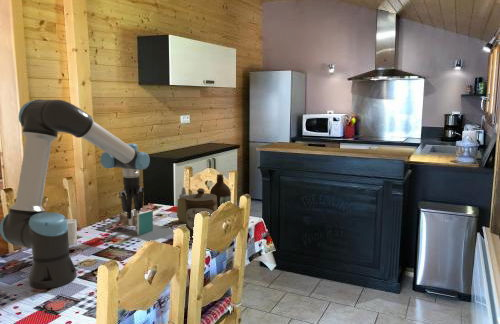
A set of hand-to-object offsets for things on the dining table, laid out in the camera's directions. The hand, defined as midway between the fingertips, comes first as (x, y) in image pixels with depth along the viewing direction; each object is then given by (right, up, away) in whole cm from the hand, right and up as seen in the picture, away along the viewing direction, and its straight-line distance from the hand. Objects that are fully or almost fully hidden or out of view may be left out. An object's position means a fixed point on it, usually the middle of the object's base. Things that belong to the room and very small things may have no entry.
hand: (133, 224), depth 202 cm
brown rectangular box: (-1, 0, +1) cm, 1 cm away
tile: (+6, -3, -4) cm, 8 cm away
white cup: (-25, -6, -15) cm, 30 cm away
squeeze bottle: (+22, -1, +15) cm, 27 cm away
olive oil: (+41, -1, +12) cm, 43 cm away
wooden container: (+34, -4, -6) cm, 35 cm away
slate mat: (+9, -4, -4) cm, 11 cm away
